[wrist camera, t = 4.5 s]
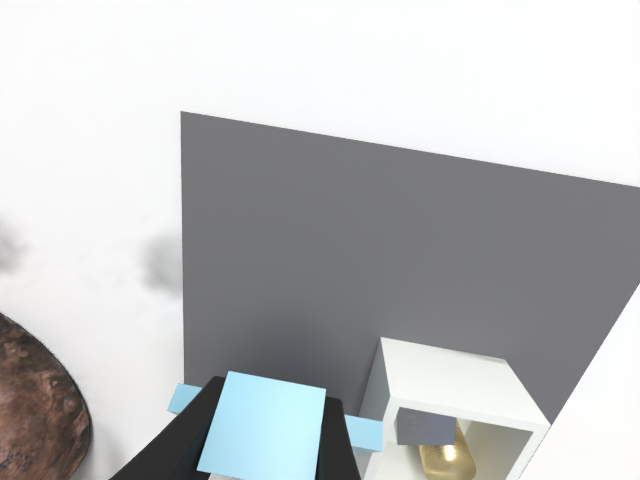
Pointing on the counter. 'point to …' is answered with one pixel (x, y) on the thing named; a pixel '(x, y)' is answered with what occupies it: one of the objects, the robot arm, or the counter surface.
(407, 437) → the steel block
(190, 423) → the robot arm
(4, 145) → the counter surface
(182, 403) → the lid
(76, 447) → the cooking pot
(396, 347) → the tub
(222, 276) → the mat
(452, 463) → the gold rounded piece
